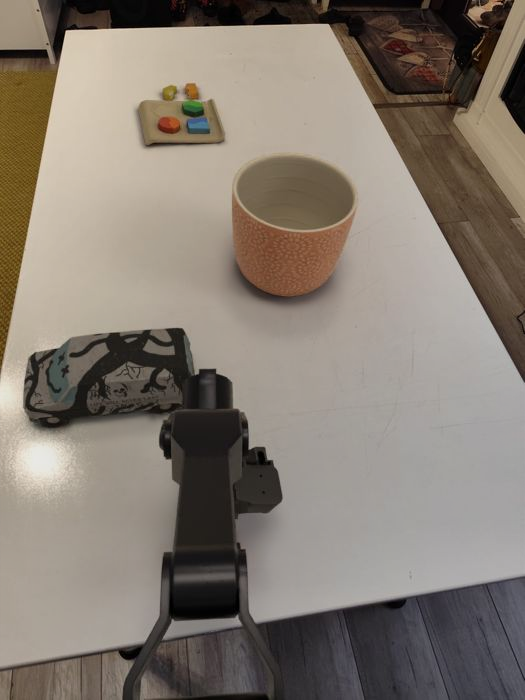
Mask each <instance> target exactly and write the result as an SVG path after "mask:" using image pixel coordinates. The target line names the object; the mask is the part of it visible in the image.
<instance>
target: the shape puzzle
mask: <svg viewBox="0 0 525 700" xmlns="http://www.w3.org/2000/svg"><path fill="white" fill-rule="evenodd" d="M177 87H178V86H177V85H172V84H170V85H168V86H165V87H163V88H162V95H163V98H164V100H163V99H161V100H157V99H155V100H153V99H145V100H142V101H141V102H140V103H139V105H138V113H139V119H140V123H141V129H142V135H143V138H144V140H143V141H144V145H146V146H150V145H151V144H154V143H177V144H178V143H181V144H182V143H184V144H185V143H186V144H187V143H189V144H191V143H193V144H194V143H195V144H196V143H197V144H199V143H200V144H211V143H212V144H213V143H215V144H217V143H220V142H222V141H224V139H225V138H226V130H225V128H224V126H223V123H222V122H223V121H222V120H221V116H220V114H219V111H218V107H217V105H216V102H215V99H213V98H209V99H208V100H206V101H207V103H208V104H207V103H206V101H205V100H204V101H201V100H199V101H200V102H201V103H200V102H199V101H198V100H197V99H199V91H198V87H197V84H196V83H195V82H191V83H190V82H189V83H185V94H187V100H173V99H175V94H176V93H177V92H178V88H177ZM188 95H189V96H188ZM207 105H208V106H207Z"/></svg>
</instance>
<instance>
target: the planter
mask: <svg viewBox="0 0 525 700" xmlns="http://www.w3.org/2000/svg"><path fill="white" fill-rule="evenodd" d="M357 189H358V188H357V187H356V184H355V183H354V181H353V180H352V178H351V177H350V176H349V175H348V174H347V173H346V172H345V171H344V170H343V169H341V168H340V167H338V165H335V164H333V163H332V162H330V161H328V160H325V159H322V158H320V157H317V156H313V155H310V154H307V153H306V154H305V153H300V152H299V153H298V152H274V153H269V154H265V155H261V156H258V157H256V158H253V159H252V160H249V161H248V162H246V163H245V164H244V165H243V166H241V167H240V168H239V169H238V170H237V172H236V174H235V175H234V177H233V181H232V188H231V225H232V226H231V228H232V229H231V230H232V241H233V250H234V256H235V260H236V264H237V266H238V268H239V270H240V271H241V273H242V275H243V276H244V277H245V278H246V279H247V280H248V281H249V282H250V283H251V285H253V286H255V287H256V288H258V289H259V290H261V291H263V292H265V293H267V294H271V295H274V296H279V297H297V296H302V295H305V294H308V293H311V292H314V291H315V290H317V289H318V288H320V287H321V286H322V285H324V284H325V283H326V281H328V279H329V278H330V276H331V275H332V274H333V272H334V270H335V269H336V267H337V264H338V262H339V260H340V258H341V256H342V254H343V251H344V248H345V246H346V244H347V240H348V237H349V234H350V233H351V232H350V231H351V229H352V225H353V222H354V219H355V216H356V213H357V209H358V205H359V192H358V190H357Z"/></svg>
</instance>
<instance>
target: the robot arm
mask: <svg viewBox="0 0 525 700" xmlns="http://www.w3.org/2000/svg"><path fill="white" fill-rule="evenodd" d="M233 385H234V384H233V382H232V380H231V379H230V378H229V377H227V376H225V375H223V374H219V373H217V368H199V369H198V373H197V374H195V375H193V376H191V377H189V378H187V379H186V380H185V381H184V382H183V397H182V405H181V409H179V408H177V409H176V410H174V411H173V412H169V415H168V417H167V419H162V423H161V428H160V430H159V436H158V446H159V448H160V449H161V450H162V452H163V458H164V459H165V460H166V461H167V460H168V461H170V460H171V480H172V481H173V482H175V483H176V484H178V485H179V486H178V487H179V488H178V497H177V507H176V515H175V517H176V518H175V523H174V524H175V525H174V535H173V544H172V551H164V552H163V554H162V560H161V561H162V563H161V572H160V573H161V574H160V595H159V615H158V618H157V620H156V622H155V624H154V626H153V627H152V629H151V630H150V633H149V634H148V637H147V638H146V640H145V642H144V644H143V646H142V647H141V649H140V651H139V652H138V655H137V656H136V658H135V660H134V662H133V664H132V666H131V668H130V669H129V671H128V673H127V674H126V677H125V679H124V683H123V685H122V697H121V700H141V695H142V694H141V693H142V692H141V691H142V680H143V677H144V675H145V673H146V671H147V669H148V668H149V665H150V663H151V662H152V660H153V658H154V656H155V654H156V653H157V651H158V649H159V647H160V645H161V644H162V641H163V639H164V637H165V635H166V633H167V632H168V630H169V628H170V626H171V625H172V621H173V622H187V621H189V622H190V621H207V620H226V619H228V620H229V619H236V618H237V617H238V621H239V622H240V624H241V626H242V628H243V629H244V631H245V633H246V635H247V637H248V638H249V640H250V642H251V643H252V646H253V647H254V650H255V651H256V653H257V655H258V657H259V658H260V660H261V662H262V665H263V666H264V668H265V670H266V672H267V690H268V691H267V693H268V694H266V692H265V691H246V692H233V693H232V692H231V693H216V694H215V693H214V694H202V695H201V694H200V695H186V696H185V695H184V696H171V697H157V698H156V697H155V698H144V699H143V700H285V685H284V683H285V682H284V674H283V671H282V668H281V666H280V664H279V663H278V661H277V659H276V658H275V656H274V653H273V652H272V650H271V647H270V646H269V644H268V643H267V641H266V639H265V638H264V636H263V634H262V631H260V629H259V627H258V625H257V623H256V622H255V620H254V618H253V616H252V614H251V612H250V603H249V575H248V557H247V549H246V548H242V546H241V542H239V541H237V529H236V528H237V525H236V520H239V515H245V514H263V515H264V514H269V513H270V512H271V511H273V510H274V509H276V507H277V506H279V505H280V504H281V503H282V502H283V491H282V485H281V480H280V475H279V470H278V469H277V468H276V467H275V462H274V460H273V459H268V455H267V450H266V446H254V447H251V448H250V434H249V433H250V431H249V430H250V429H249V421H248V418H247V416H246V414H245V411H241V410H240V409H239V408H234V388H233V387H234V386H233Z"/></svg>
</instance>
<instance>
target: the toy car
mask: <svg viewBox="0 0 525 700" xmlns="http://www.w3.org/2000/svg"><path fill="white" fill-rule="evenodd" d="M195 373H196V372H195V366H194V358H193V353H192V350H191V342H190V339H189V337H188V334H187V333H186V331H185V330H184V328H183V327H168V328H166V327H165V328H151V329H137V330H136V329H135V330H125V331H116V332H102V333H95V334H94V333H93V334H84V335H78V336H77V335H76V336H71V337H70V338H69V339H67V340H66V341H65V342H64V343H63V344H62V345H60V346H59V347H57V348H52V349H46V350H41V351H40V350H39V351H35V352H33V353H32V354H30V356H28V358H27V363H26V368H25V373H24V374H25V375H24V382H23V383H24V384H23V392H22V393H23V394H22V395H23V396H22V408H23V409H24V413H25V414H26V416H27V417H28V421H29V422H31V423H34V424H37V423H39V425H40V426H42V427H44V428H49V429H56V428H61V427H64V426H66V425H67V423H68V422H69V419H70V420H72V419H81V418H82V419H84V418H93V417H102V416H103V417H104V416H111V415H122V414H130V413H137V412H143V411H150V410H151V409H152V413H154V414H156V415H160V414H167V413H173V412H174V411H175V410H176V409H179V405H180V406H182V397H183V382H184V381H185V380H186V379H187V378H189V377H191V376H193V375H196V374H195Z"/></svg>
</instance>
